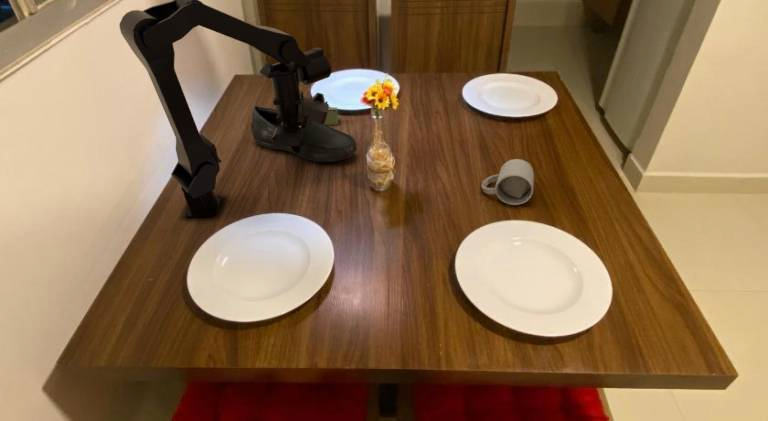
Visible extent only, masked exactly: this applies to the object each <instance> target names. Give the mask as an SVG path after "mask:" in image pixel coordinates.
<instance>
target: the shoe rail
mask: <svg viewBox="0 0 768 421" xmlns="http://www.w3.org/2000/svg"><path fill="white" fill-rule="evenodd" d="M324 125H326V126H333V125H339V116H338V107H329V108H328V113H327V117H326V121H325V124H324Z"/></svg>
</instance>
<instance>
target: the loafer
mask: <svg viewBox="0 0 768 421" xmlns="http://www.w3.org/2000/svg"><path fill="white" fill-rule="evenodd" d="M251 114H252V115H251V117H252V118H251V122H250V128H251V134H252V137H253V140H254V141H255V142H256V144H257V145H259V146H261V147H264V148H267V149H270V150H274V151H285V152H288V153H292V154H294V155H296V156H298V157H300V158H303V159H304V160H307V161H311V162H315V163H321V162H323V163H333V162H337V161H342V160H343V161H344V160H346V159H348V158H350V157H352V156H353V155H354V154H355V153H356V151H357V149H358V147H357V146H358V145H357V144H358V143H357V141H356V139H355V138H354V137H353V136H352V135H350V134H348V133H346V132H344V131H341V130H339V129H336V128H334V127H331V126H329V125H324V124H318V123H317V122H314V121H310V120H307V125H306V127H305V128H306V130H305V134H304V139H303V144H302V145H301V146H300V153H295V152H294V151H293V150H292V148H291V147H290V146H288V147H275V146H273V141H272V136H273V133H274V130H275V129H276V128H277V127H279V126H281V123H282V122H277V119H276V118H277V115H278V112H277V108H272V107H266V106H259V105H255V106H254V107H253V108H252V113H251ZM304 119H305V118H304Z"/></svg>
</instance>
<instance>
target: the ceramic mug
mask: <svg viewBox="0 0 768 421" xmlns="http://www.w3.org/2000/svg"><path fill="white" fill-rule="evenodd" d="M534 181H535V173H534V170H533V166H532V165H531V164H530V163H529V162H528V161H527V160H525V159H521V158H512V159H509V160H507V161H505V162H504V164H503V165H502V166H501V168H500V170H499V172H498V174H493V175H491V176H488V177H486V178H485V179H483V181H482V183H481V188H482V191H483V193H484V194H486V195H496V196H497V198H498V199H499V201H501V202H502V203H505V204H506V205H511V206H520V205H523V204H525V203H527V202H528V201H529V200H530V199H531V198H532V196H533V194H534ZM494 182H496V183H495V186H494V187H488V186H489V185H490V184H492V183H494Z"/></svg>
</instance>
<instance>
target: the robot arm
mask: <svg viewBox="0 0 768 421" xmlns="http://www.w3.org/2000/svg"><path fill="white" fill-rule="evenodd" d="M198 26H199V27H202V28H205V29H208V30H210V31H213V32H215V33H218V34H220V35H223V36H225V37H228V38H231V39H234V40H236V41H238V42H241V43H244V44H247V45H249V46H250V47H252V48H254V50H257V51H258V52H260V53H262V54H263V55H264V56H266V57H268V58H270V59H272V60H274V61H275V62H277V63H273V64H272V63H270V62H265V63H264V66H263V67H262V68H260V70H259V74H260V75H261V76H263V77H265V78H266V79H269V80H270V82H271V86H272V91H273V100H272V103H273V106H276V110H277V112H278V115H277V118H276V119H277V122H282V123H281V126H279V127H277V128H276V129H275V130H274V133H273V136H272V141H273V146H275V147H288V146H290V147H291V148H292V150H293V151H294V152H295V153H300V146H301V145H302V144H303V139H304V134H305V130H306V128H305V127H306V125H307V120H310V121H314V122H317V123H318V124H325V121H326V117H327V113H328V108H330V104H329V103H328V101H326V99H325V96H324V93H320V92H316V93H315V94H314V95H313V97H312V96H310V97H305V92H304V91H303V90H302V89H301V86H300V83H302V84H303V85H305V86H310V85H312V84H315V83H318V82H320V81H322V80H325V79H328V78H330V77H331V76H332V75H331V74H332V67H331V65H330V62H329V60H328V58H327V56H326V55H325V53H324V49H323V48H320V47H317V46H316V47H314V48H311V49H310V50H307V51H304V52H303V50H301V49H300V48H299V43H298V40H297V38H296V37H294V36H293V35H291V34H289V33H286V32H284V31H282V30H280V29H278V28H275V27H270V26H265V25H259V24H252V23H249V22H247V21H245V20H242V19H240V18H237V17H235V16H233V15H231V14H228V13H226V12H223V11H221V10H220V9H216V8H215V7H213V6H211V5H208V4H205V3H203V2H202V1H201V0H171V1H167V2H164V3H159V4H157V5H153V6H150V7H147V8H146V9H143V10H139V9H134V10H130V11H128V12H126V13H125V14H124V15H123V16H122V18H121V20H120V22H119V30H120V34H121V35H122V37H123V38H124V40H125V42H126V43H127V45H128V46H129V48H130V50H131V51H132V52H133V54H134V55H135V56H136V57H137V59H138V60H139V62H140V63H141V64H142V65H143V67H144V68H145V70H146V72H147V74H148V76H149V78H150V81H151V82H152V86H153V88H154V91H155V93H156V95H157V97H158V100H159V102H160V104H161V106H162V109H163V111H164V114H165V116H166V118H167V120H168V123H169V125H170V127H171V129H172V132H173V134H174V137H175V153H176V156H177V162H176V164H175V166H174V168H173V170H172V171H171V173H170V175H171V177H172V178H173V179H174V180H175V181H176V182H177V184H179V185H180V186H181V187H180V188H181V191H182V195H183V197H184V199H185V202H186V204H187V208H186V211H185V213H184V217H185V218H186V219H188V218H189V219H192V218H210V217H211V218H212V217H216V216H217V215H218V214H217V213H218V211H219V208H220V207H221V206H220V205H221V203H222V200H223V197H222V195H215V192H214V190H216V183H217V177H218V176H217V175H218V173H220V170H221V166H220V163H222V160H221V159H220V158H219V156H218V151H217V147H216V145H215V144H214V142H212V141H211V140H210V139H208V138H207V137H206V136H205V135H204V134H202V133H201V134H200V131H199V129H198V127H197V124H196V122H195V118H194V117H193V113H192V111H191V109H190V106H189V103H188V101H187V97H186V96H185V93H184V89H183V87H182V85H181V82H180V80H179V78H178V75H177V72H176V70H175V57H176V56H175V55H176V53H175V47H174V44H175V43H177V42H178V41H180V40H182V39H184V38H185V37H186V36H187V35H188V34H189V33H190V32H191V31H193V29H194V28H197V27H198ZM304 118H305V119H304Z"/></svg>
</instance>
